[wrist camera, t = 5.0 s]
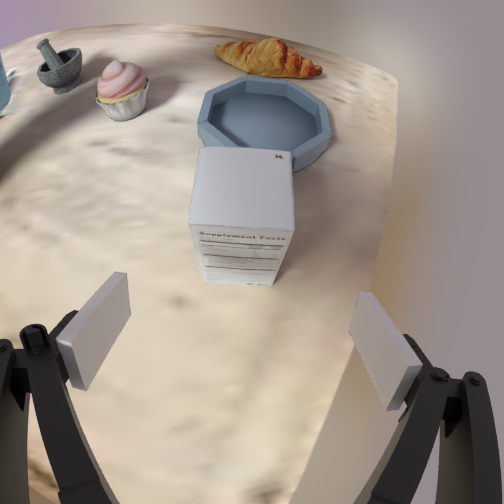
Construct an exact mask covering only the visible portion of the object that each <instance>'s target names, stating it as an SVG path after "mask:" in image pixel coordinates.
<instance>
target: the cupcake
mask: <svg viewBox="0 0 504 504" xmlns="http://www.w3.org/2000/svg"><path fill="white" fill-rule="evenodd" d="M146 75H147V74H146V73H145V72H144V70H143V69H142V68H140V67H138V66H136V65H134V64H133V63H129V62H119V61H118V60H117V59H115V60H114V61H113V62H111V63H109V65H108V66H107V67H106V68H105V69H104V71H103V74H102V76H101V77H100V78H99V80H98V83H97V91H98V92H97V93H96V94H95V95H94V96H93V97H94V98H95V99H96V102H97V103H98V104H99V105H100V106H101V107H102V108H103V109H104V110H105V111H106V113H107V114H108V116H109V117H110V118H111V119H113V120H115V121H126V120H130V119H132V118H134V117H136V116H138V115H139V114H140V113H141V112H142V111H143V110H144V108H145V106H146V96H147V90H148V86H149V84H150V81H151V79H150V78H146Z"/></svg>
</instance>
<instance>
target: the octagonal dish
mask: <svg viewBox="0 0 504 504" xmlns="http://www.w3.org/2000/svg"><path fill="white" fill-rule="evenodd" d="M197 124H198V135H199V138H200V139H202V141H203V143H204V145H205V147H206V146H215V147H238V148H255V149H270V150H280V151H288V152H291V163H292V173H294V172H298V171H300V170H302V169H305V168H306V167H308V166H310V165H311V164H312V163H314V162H315V161H316V160H317V159H318V157H319V156H320V154H321V153H322V152H323V151H324V150H326V149H327V146H328V144H329V141H330V138H331V136H332V133H331V127H330V122H329V117H328V112H327V107H326V105H325V104H324V102H323V101H321V100H320V99H318V98H317V97H315V96H314V95H312V94H310V93H309V92H307V91H306V90H304V89H303V88H301V87H299V86H298V85H296V84H295V83H293V82H289V81H288V80H280V79H271V78H261V77H248V76H245V78H244V77H240V78H238V79H235V80H233V81H230V82H228V83H226V84H223V85H221V86H218V87H216V88H214V89H211V90H209V91H207V93H205V97H204V100H203V103H202V107H201V110H200V114H199V117H198V121H197Z"/></svg>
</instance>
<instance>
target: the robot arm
mask: <svg viewBox="0 0 504 504" xmlns="http://www.w3.org/2000/svg"><path fill="white" fill-rule="evenodd" d="M10 98H11V92H10V88H9V84H8V81H7V77H6V73H5V70H4V66H3V62H2V58H1V54H0V111H1V110H2V109H3V108H5V107H6V106H7V104H8V103H9V101H10ZM130 316H131V310H130V301H129V291H128V281H127V273H122V272H114V273H113V274H112V275H111V276H110V277H109V278H108V279H107V281H106V282H105V283H104V284H103V285H102V286H101V287H100V288H99V289H98V290H97V291H96V293H95V294H94V295H93V296H92V297H91V298H90V299H89V300H88V301H87V303H86V304H85V305H84V306H83V307H82V308H81V309H80V310H79V311H77V310H73V311H72V312H70V313H68V314H66V316H65V317H64V318H63V319H62V320H61V321H60V322H59V323H58V324H57V326H56V327H55V328H54V329H53V330H52V331H51V332H50V334H49V335H48V333H47V329H46V328H45V326H43V325H42V324H31V325H28V326H26V327H25V328H23V329H22V330H21V332H20V335H19V336H20V339H21V342H22V344H23V347H24V349H14V347H13V345H12V343H11V341H9V340H8V339H0V504H30V499H29V487H28V469H27V433H28V413H29V401H30V393H32V398H33V403H34V407H35V412H36V416H37V420H38V424H39V428H40V432H41V435H42V439H43V442H44V446H45V449H46V452H47V455H48V458H49V461H50V464H51V467H52V470H53V473H54V476H55V478H56V481H57V484H58V486H59V489H60V491H59V492H58V497H59V500H60V502H61V504H120V503H119V502H118V500H117V498H116V497H115V495H114V493H113V491H112V490H111V488H110V486H109V484H108V482H107V481H106V479H105V477H104V475H103V473H102V471H101V469H100V467H99V465H98V463H97V461H96V459H95V457H94V455H93V453H92V450H91V448H90V446H89V444H88V442H87V439H86V437H85V435H84V432H83V430H82V427H81V425H80V423H79V420H78V417H77V415H76V412H75V410H74V407H73V404H72V401H71V398H70V396H69V393H68V390H67V387H66V384H65V383H66V382H67V380H68V379H69V380H70V382H71V385H72V387H74V388H77V389H80V390H84V391H87V389H88V388H89V386H90V384H91V382H92V380H93V379H94V377H95V375H96V373H97V371H98V370H99V368H100V366H101V364H102V363H103V361H104V359H105V357H106V356H107V354H108V352H109V351H110V349H111V347H112V346H113V344H114V342H115V340H116V339H117V337H118V335H119V334H120V332H121V331H122V329H123V327H124V326H125V324H126V322H127V321H128V319H129V317H130ZM349 333H350V335H351V337H352V339H353V342H354V344H355V346H356V348H357V350H358V352H359V354H360V356H361V358H362V361H363V363H364V365H365V367H366V370H367V372H368V374H369V376H370V378H371V380H372V383H373V385H374V387H375V390H376V392H377V394H378V396H379V399H380V401H381V403H382V406H383V408H384V410H385V411H391V410H398V409H399V408H400V407H401V405H402V403H403V401H405V403H406V405H407V408H406V409H405V411H404V413H403V414H402V416H401V417H400V419H399V421H398V422H399V424H398V426H397V428H396V430H395V432H394V434H393V437H392V438H391V440H390V442H389V444H388V446H387V448H386V450H385V452H384V454H383V456H382V457H381V459H380V461H379V463H378V465H377V466H376V468H375V470H374V471H373V473H372V475H371V477H370V478H369V480H368V482H367V483H366V485H365V486H364V488H363V490H362V491H361V493H360V494H359V496H358V497H357V499H356V500H355V502H354V503H353V504H410V503H411V501H412V498H413V496H414V494H415V492H416V490H417V487H418V485H419V483H420V480H421V477H422V475H423V473H424V470H425V468H426V465H427V462H428V459H429V457H430V454H431V451H432V448H433V445H434V442H435V439H436V436H437V433H438V429H439V426H440V452H439V471H438V483H437V493H436V502H435V504H502V483H501V469H500V458H499V449H498V442H497V435H496V429H495V423H494V417H493V412H492V407H491V402H490V397H489V393H488V389H487V385H486V381H485V379H484V378H483V377H482V376H481V375H480V374H479V373H476V372H471V371H469V372H466V373H465V375H464V376H463V378H462V380H461V379H452V378H450V376H449V374H448V373H447V372H446V371H445V370H443V369H441V368H437V367H433V366H432V365H431V363H430V362H429V360H428V359H427V357H426V356H425V355H424V353H423V352H422V350H421V349H420V348H419V347H418V345H417V343H416V342H415V340H414V339H412V338H411V337H410V336H409V335H407V334H402V333H401V332H400V330H399V329H398V328H397V326H396V325H395V323H394V322H393V321H392V319H391V318H390V316H389V315H388V314H387V312H386V311H385V310H384V308H383V307H382V305H381V304H380V303H379V301H378V300H377V299H376V297H375V296H374V295H373V293H372V292H369V291H359V295H358V299H357V303H356V306H355V310H354V314H353V317H352V321H351V324H350V328H349Z"/></svg>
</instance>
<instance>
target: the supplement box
mask: <svg viewBox="0 0 504 504" xmlns="http://www.w3.org/2000/svg"><path fill="white" fill-rule="evenodd" d="M188 224H189V228H190V233H191V237H192V241H193V245H194V249H195V254H196V257H197V261H198V265H199V269H200V273H201V276H202V280H203V283H213V284H232V285H251V286H272V285H273V283H274V280H275V278H276V275H277V273H278V271H279V268H280V266H281V263H282V261H283V259H284V256H285V254H286V252H287V249H288V247H289V245H290V242H291V240H292V237H293V234H294V232H295V213H294V194H293V179H292V163H291V152H288V151H280V150H270V149H255V148H238V147H215V146H206V147H201V148H200V152H199V157H198V162H197V167H196V173H195V179H194V185H193V191H192V198H191V204H190V211H189V220H188Z"/></svg>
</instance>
